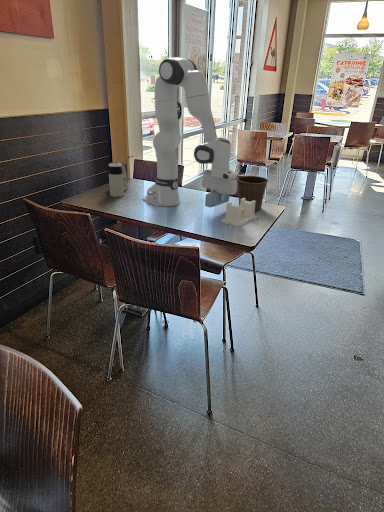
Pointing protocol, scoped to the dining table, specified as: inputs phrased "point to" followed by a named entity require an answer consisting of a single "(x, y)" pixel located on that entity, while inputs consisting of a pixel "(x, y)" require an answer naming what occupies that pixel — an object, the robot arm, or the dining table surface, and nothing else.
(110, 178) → the travel mug
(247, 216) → the display stand
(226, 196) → the blue-grey block
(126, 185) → the coffee box
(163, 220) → the dining table surface
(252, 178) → the plant pot
